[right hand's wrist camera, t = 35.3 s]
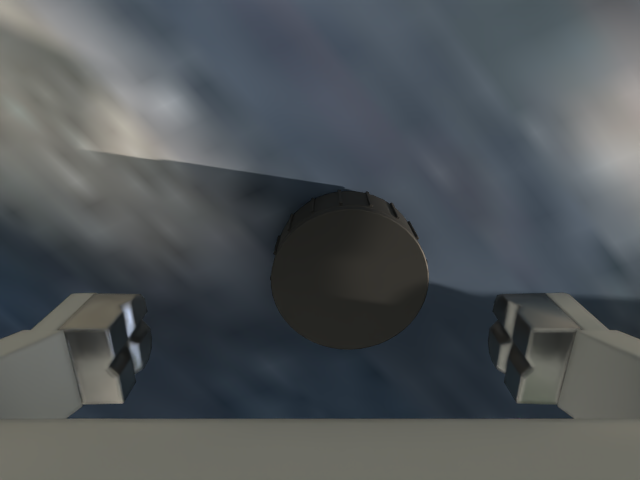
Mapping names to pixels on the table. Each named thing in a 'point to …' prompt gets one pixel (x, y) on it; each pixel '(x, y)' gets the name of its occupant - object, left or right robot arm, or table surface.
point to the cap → (348, 271)
